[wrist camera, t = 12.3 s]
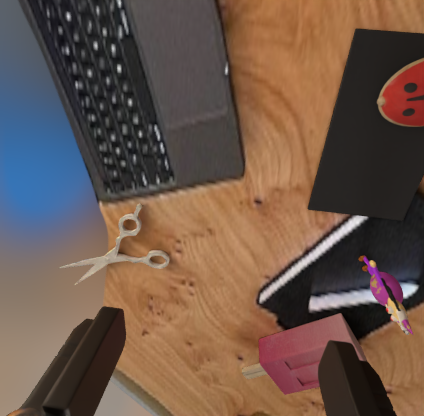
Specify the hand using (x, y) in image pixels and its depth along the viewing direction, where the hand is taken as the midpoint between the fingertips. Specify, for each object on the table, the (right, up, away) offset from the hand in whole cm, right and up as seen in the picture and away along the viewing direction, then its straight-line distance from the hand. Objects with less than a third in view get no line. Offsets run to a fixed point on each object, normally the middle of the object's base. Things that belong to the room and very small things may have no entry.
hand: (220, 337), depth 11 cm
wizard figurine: (+22, -2, +28) cm, 35 cm away
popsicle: (+14, -19, +37) cm, 44 cm away
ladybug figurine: (+22, +17, +18) cm, 33 cm away
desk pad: (+19, +13, +20) cm, 31 cm away
